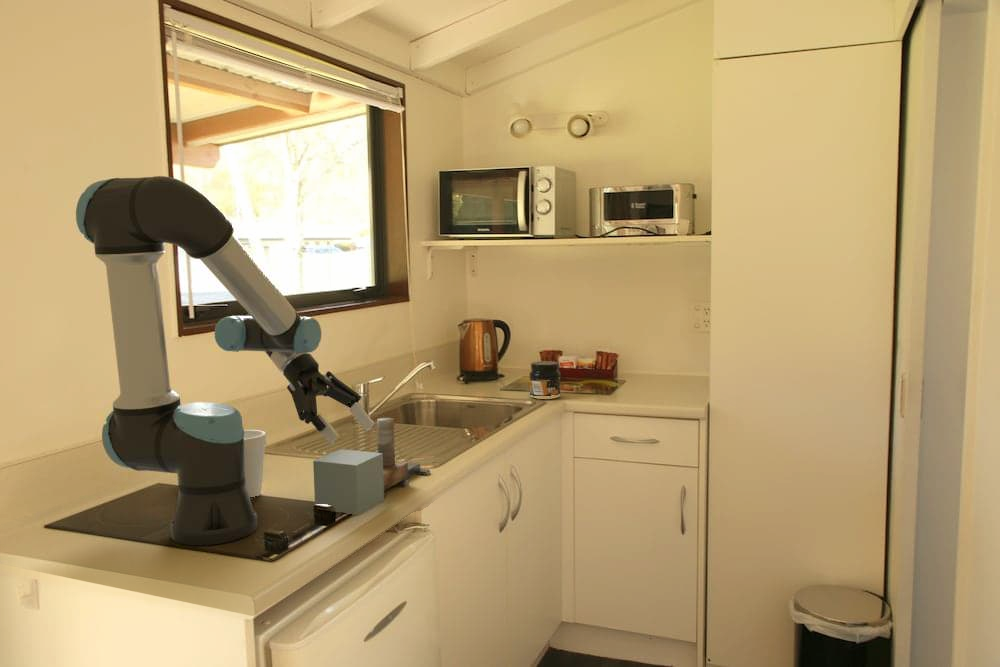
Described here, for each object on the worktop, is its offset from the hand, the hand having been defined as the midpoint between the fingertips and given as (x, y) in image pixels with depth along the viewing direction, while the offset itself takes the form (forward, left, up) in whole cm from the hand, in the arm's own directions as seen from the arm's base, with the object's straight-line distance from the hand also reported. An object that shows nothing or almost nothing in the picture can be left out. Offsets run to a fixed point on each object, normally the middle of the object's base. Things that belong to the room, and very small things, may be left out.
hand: (353, 433), depth 179 cm
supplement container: (+109, -5, -11) cm, 110 cm away
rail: (+2, -8, -11) cm, 14 cm away
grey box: (-14, -8, -11) cm, 20 cm away
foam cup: (-16, +17, -11) cm, 26 cm away
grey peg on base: (-3, -8, -10) cm, 13 cm away
